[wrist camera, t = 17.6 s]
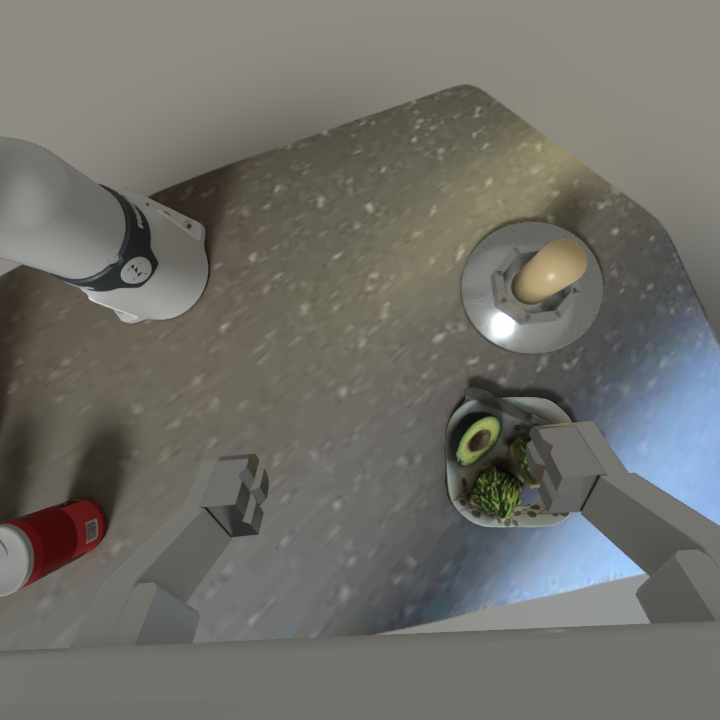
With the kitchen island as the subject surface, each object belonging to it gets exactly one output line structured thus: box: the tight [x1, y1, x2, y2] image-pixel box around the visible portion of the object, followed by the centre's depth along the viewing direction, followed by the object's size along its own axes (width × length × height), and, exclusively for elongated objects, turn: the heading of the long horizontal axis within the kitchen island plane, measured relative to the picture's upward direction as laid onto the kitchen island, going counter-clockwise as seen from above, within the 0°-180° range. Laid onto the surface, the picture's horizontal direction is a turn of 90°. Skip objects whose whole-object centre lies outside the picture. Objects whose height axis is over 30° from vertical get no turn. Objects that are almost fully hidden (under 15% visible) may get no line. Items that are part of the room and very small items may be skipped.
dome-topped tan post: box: [511, 239, 588, 305], centre depth 41 cm, size 5×5×9 cm
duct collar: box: [460, 222, 603, 354], centre depth 45 cm, size 18×18×3 cm
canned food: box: [0, 499, 106, 596], centre depth 45 cm, size 8×8×11 cm
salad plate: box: [445, 387, 572, 528], centre depth 43 cm, size 19×18×5 cm
